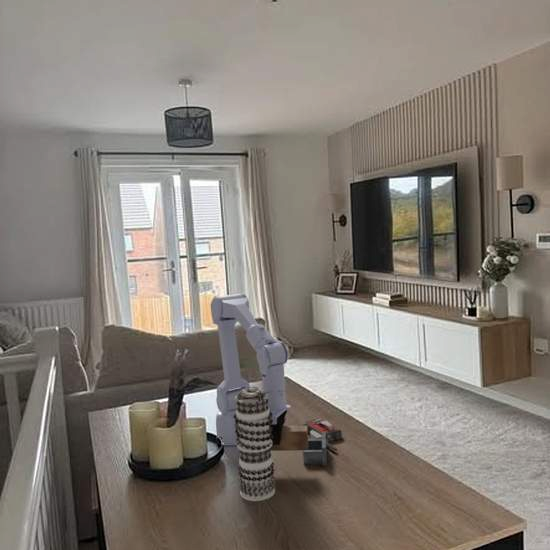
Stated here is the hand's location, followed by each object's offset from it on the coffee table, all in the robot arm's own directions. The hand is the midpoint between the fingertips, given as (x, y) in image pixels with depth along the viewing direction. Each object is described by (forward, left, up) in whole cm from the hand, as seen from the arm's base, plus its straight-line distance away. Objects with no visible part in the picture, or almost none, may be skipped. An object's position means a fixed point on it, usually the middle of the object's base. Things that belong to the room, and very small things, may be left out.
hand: (276, 440), depth 133 cm
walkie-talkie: (+13, +20, -8) cm, 25 cm away
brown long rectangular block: (0, 0, -2) cm, 2 cm away
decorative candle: (-4, -11, -8) cm, 14 cm away
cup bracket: (+10, +7, -8) cm, 14 cm away
